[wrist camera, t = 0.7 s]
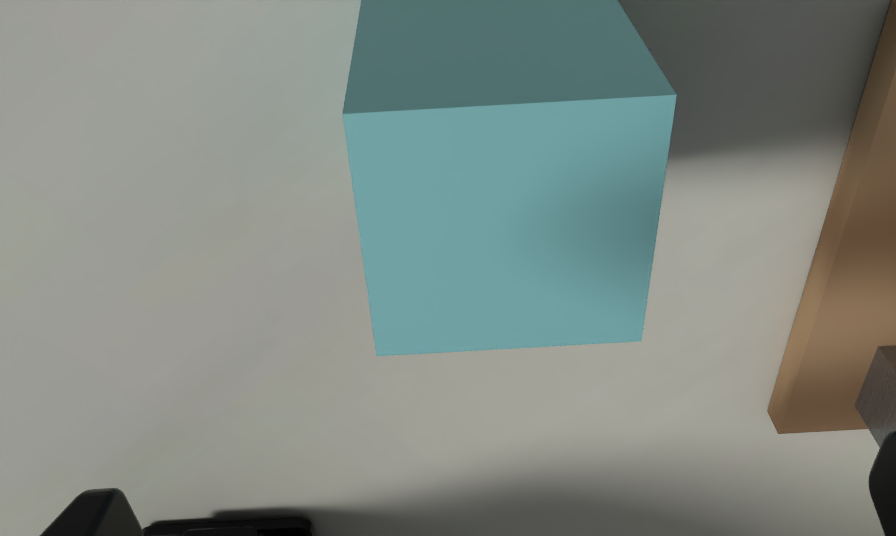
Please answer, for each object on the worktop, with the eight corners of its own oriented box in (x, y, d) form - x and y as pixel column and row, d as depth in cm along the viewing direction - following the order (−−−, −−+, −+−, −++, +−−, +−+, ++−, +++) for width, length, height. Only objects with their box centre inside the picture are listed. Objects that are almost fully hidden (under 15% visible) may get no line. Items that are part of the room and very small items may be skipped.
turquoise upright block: (582, 170, 20) (641, 341, 15) (386, 182, 20) (376, 356, 15) (597, -32, 17) (676, 94, 12) (364, -19, 17) (342, 114, 12)
